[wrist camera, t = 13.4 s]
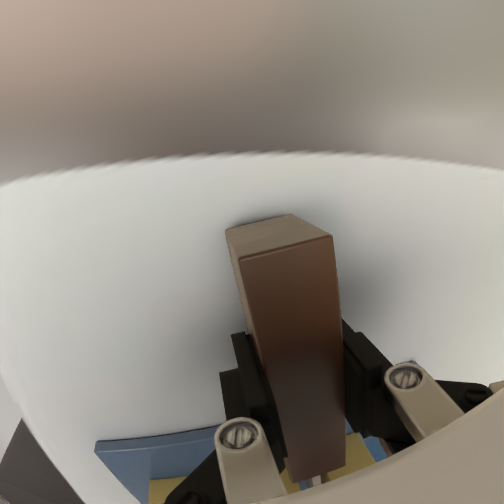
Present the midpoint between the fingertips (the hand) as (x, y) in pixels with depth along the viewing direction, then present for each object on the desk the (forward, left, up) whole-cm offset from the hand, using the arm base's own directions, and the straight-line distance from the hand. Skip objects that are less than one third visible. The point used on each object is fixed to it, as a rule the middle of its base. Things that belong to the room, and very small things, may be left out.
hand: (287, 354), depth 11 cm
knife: (0, -5, -1) cm, 5 cm away
